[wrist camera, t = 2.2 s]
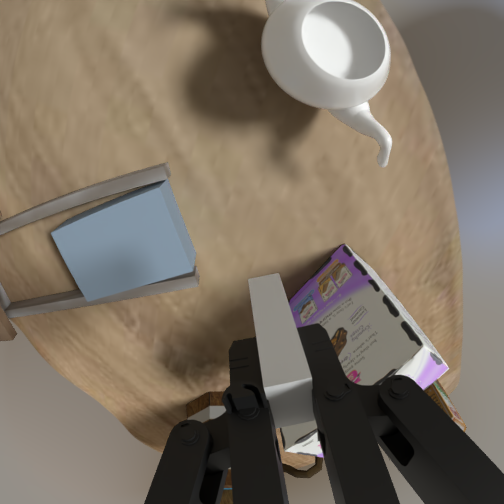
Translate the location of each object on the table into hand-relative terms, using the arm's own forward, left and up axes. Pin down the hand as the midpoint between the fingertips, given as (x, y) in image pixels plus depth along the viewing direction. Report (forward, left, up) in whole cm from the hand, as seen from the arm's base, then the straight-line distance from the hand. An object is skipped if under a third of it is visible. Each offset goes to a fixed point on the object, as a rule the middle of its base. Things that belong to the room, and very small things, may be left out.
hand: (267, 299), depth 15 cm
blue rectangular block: (0, -12, -15) cm, 19 cm away
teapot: (-13, +8, -15) cm, 21 cm away
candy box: (+12, +6, -15) cm, 20 cm away
